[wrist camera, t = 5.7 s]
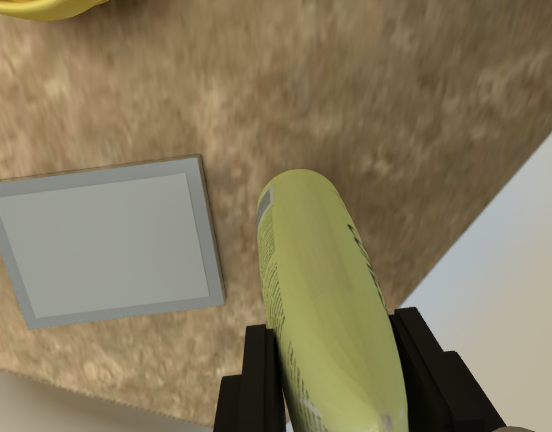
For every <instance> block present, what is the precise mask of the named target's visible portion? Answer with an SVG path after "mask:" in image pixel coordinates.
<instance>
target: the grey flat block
mask: <svg viewBox="0 0 552 432" xmlns="http://www.w3.org/2000/svg"><path fill="white" fill-rule="evenodd" d="M0 253H1V255H2V258H3V261H4V264H5V266H6V269H7V272H8V275H9V278H10V280H11V283H12V286H13V289H14V292H15V294H16V297H17V300H18V303H19V305H20V308H21V311H22V314H23V317H24V319H25V322H26V325H27V328H28V330H29V329H37V328H45V327H53V326H61V325H69V324H77V323H85V322H93V321H101V320H109V319H117V318H125V317H133V316H141V315H149V314H157V313H165V312H173V311H181V310H189V309H197V308H205V307H213V306H221V305H224V304H225V299H226V293H225V288H224V282H223V277H222V271H221V266H220V260H219V255H218V249H217V244H216V238H215V233H214V227H213V222H212V216H211V211H210V206H209V200H208V195H207V189H206V184H205V178H204V173H203V167H202V162H201V156H200V154H198V155H190V156H182V157H175V158H167V159H159V160H151V161H144V162H136V163H128V164H121V165H113V166H105V167H97V168H90V169H82V170H74V171H67V172H59V173H51V174H43V175H36V176H28V177H20V178H13V179H5V180H0Z"/></svg>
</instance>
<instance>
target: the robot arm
mask: <svg viewBox="0 0 552 432" xmlns="http://www.w3.org/2000/svg"><path fill="white" fill-rule="evenodd" d="M389 319H390V323H391V327H392V331H393V335H394V339H395V342H396V346H397V350H398V354H399V358H400V363H401V368H402V373H403V378H404V385H405V391H406V398H407V407H408V428H409V432H534V431H531V430H528V429H525V428H522V427H512V426H509V427H507V426H506V424H505V423H504V421H503V420H502V418H501V417H500V415H499V414H498V412H497V411H496V409H495V408H494V406H493V405H492V403H491V402H490V400H489V399H488V397H487V396H486V394H485V393H484V391H483V390H482V388H481V387H480V385H479V384H478V382H477V381H476V380H475V378H474V376H473V375H472V374H471V372H470V371H469V369H468V368H467V366H466V365H465V363H464V362H463V360H462V359H461V357H460V356H459V355H458V353H457V352H455V351H447V352H444V351H443V350H442V348H441V347H440V345H439V344H438V342H437V340H436V339H435V337H434V335H433V334H432V332H431V331H430V329H429V327H428V326H427V324H426V322H425V321H424V319H423V318H422V316H421V314H420V313H419V312H418V310H417V308H416V307H409V308H400V309H395V312H394V314H393V315H389ZM213 432H286V416H285V404H284V397H283V390H282V384H281V378H280V372H279V366H278V359H277V352H276V344H275V337H274V330H273V328H271V329H266V325H265V324H261V325H252V326H247V327H246V334H245V345H244V356H243V367H242V374H241V375H232V376H223V377H222V380H221V385H220V391H219V398H218V404H217V410H216V417H215V423H214V429H213Z"/></svg>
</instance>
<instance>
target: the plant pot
mask: <svg viewBox="0 0 552 432" xmlns="http://www.w3.org/2000/svg"><path fill="white" fill-rule="evenodd" d="M108 1H110V0H0V14H3V15H7V16H12V17H17V18H22V19H28V20H36V21H54V20H61V19H66V18H70V17H73V16H76V15H78V14H81V13H83V12H85V11H86V10H88V9H90V8H91V7H93V6H94V5H99V4H102V3H105V2H108Z"/></svg>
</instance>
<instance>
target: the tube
mask: <svg viewBox="0 0 552 432" xmlns="http://www.w3.org/2000/svg"><path fill="white" fill-rule="evenodd" d="M257 240H258V256H259V268H260V278H261V286H262V293H263V300H264V306H265V312H266V318H267V323H268V328H269V329H271V328H273V330H274V337H275V344H276V352H277V359H278V366H279V372H280V378H281V384H282V389H283V392H284V396H285V400H286V404H287V408H288V412H289V416H290V419H291V423H292V427H293V430H294V432H409V428H408V407H407V398H406V391H405V385H404V378H403V373H402V368H401V363H400V358H399V354H398V350H397V346H396V342H395V339H394V335H393V331H392V327H391V323H390V319H389V316H388V312H387V309H386V306H385V302H384V299H383V296H382V292H381V289H380V286H379V283H378V280H377V278H376V275H375V273H374V270H373V267H372V265H371V262H370V260H369V257H368V255H367V252H366V250H365V247H364V245H363V243H362V240H361V238H360V236H359V234H358V231H357V229H356V227H355V225H354V223H353V221H352V219H351V217H350V215H349V213H348V211H347V209H346V207H345V205H344V203H343V201H342V199H341V197H340V195H339V193H338V191H337V190H336V188H335V187H334V186H333V184H332V183H331V182H330V181H329V180H328V179H327V178H326V177H324V176H323V175H321V174H319V173H317V172H314V171H311V170H306V169H294V170H289V171H286V172H283V173H281V174H279V175H277V176H276V177H274V178H273V179H272V180H271V181H270V182H269V183H268V184H267V185H266V186H265V187H264V189H263V191H262V192H261V194H260V197H259V200H258V204H257Z"/></svg>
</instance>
